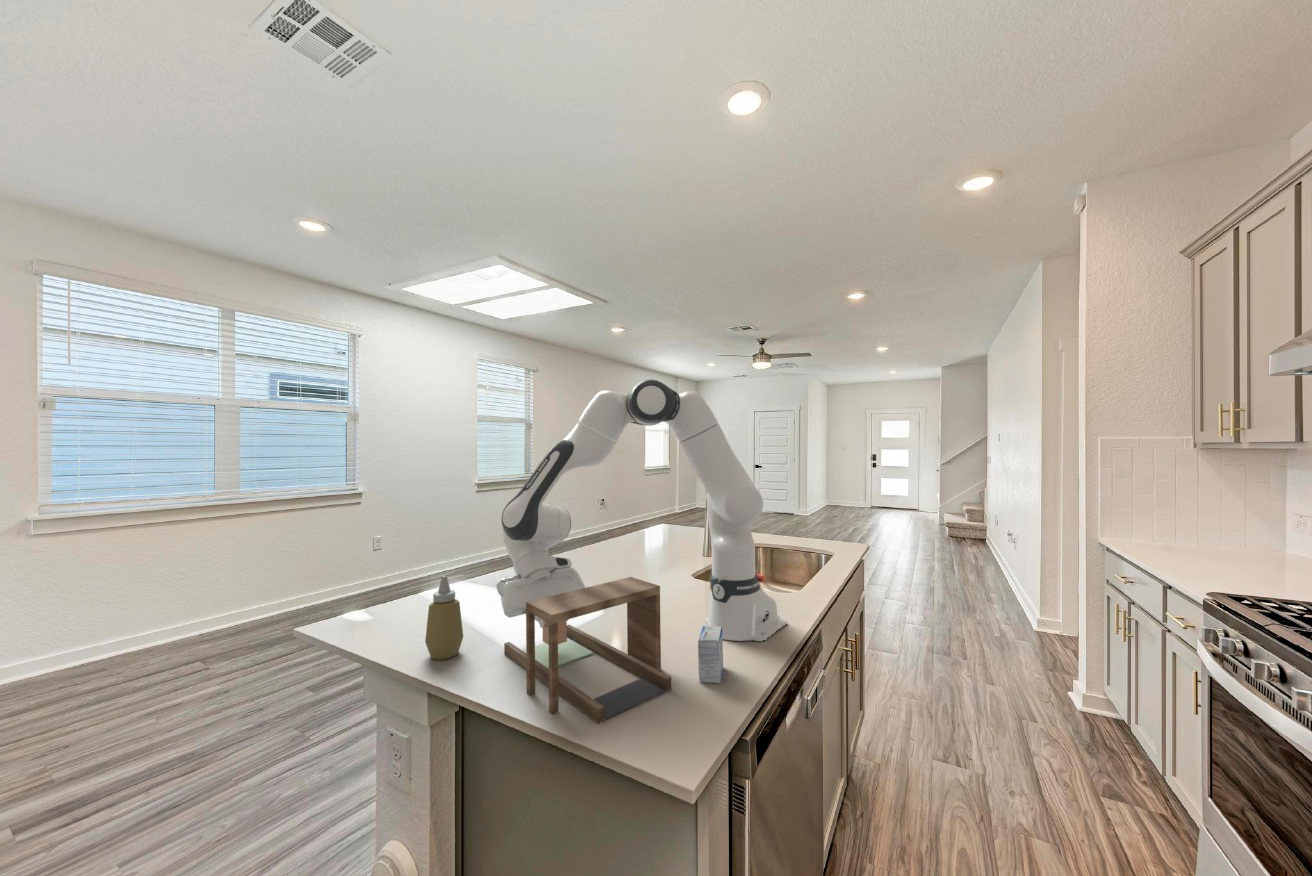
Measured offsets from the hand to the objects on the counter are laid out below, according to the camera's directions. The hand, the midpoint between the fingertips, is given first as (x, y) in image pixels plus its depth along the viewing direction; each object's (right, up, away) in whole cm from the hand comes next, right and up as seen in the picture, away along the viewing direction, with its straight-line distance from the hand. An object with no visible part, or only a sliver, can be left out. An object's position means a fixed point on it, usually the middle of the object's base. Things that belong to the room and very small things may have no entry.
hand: (556, 623), depth 111 cm
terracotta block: (0, -4, 0) cm, 4 cm away
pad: (0, -7, 0) cm, 7 cm away
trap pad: (+17, -7, -20) cm, 27 cm away
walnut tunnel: (+8, -7, -9) cm, 14 cm away
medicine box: (+34, -7, -10) cm, 37 cm away
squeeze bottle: (-26, -8, +1) cm, 27 cm away
